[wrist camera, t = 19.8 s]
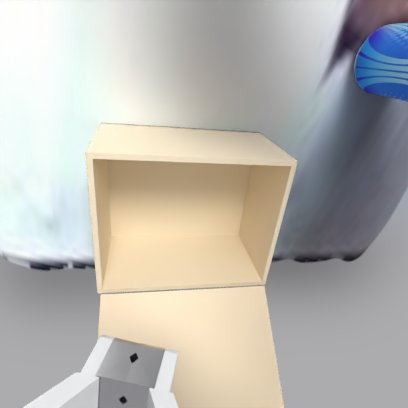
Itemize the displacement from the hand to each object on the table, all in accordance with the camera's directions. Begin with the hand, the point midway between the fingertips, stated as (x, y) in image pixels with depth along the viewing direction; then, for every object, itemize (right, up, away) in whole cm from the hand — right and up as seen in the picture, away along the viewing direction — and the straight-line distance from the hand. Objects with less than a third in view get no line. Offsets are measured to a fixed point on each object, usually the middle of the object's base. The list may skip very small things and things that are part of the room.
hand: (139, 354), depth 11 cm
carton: (-1, +8, +33) cm, 34 cm away
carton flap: (+1, -12, +23) cm, 26 cm away
